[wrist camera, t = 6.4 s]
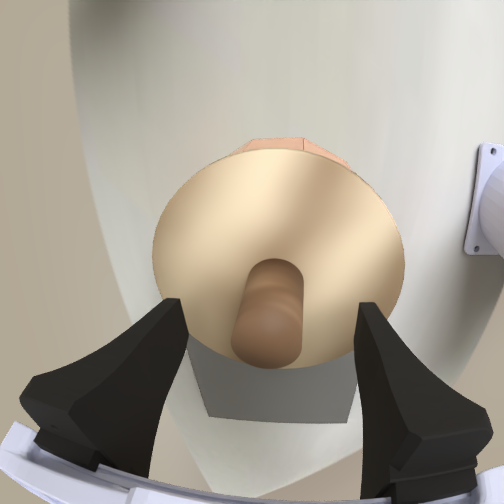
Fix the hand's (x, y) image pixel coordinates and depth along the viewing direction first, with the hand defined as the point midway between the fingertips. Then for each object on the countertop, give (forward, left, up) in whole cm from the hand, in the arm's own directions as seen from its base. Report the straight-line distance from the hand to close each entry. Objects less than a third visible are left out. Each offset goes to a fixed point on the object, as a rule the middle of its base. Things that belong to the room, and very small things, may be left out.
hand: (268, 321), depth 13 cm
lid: (0, +1, -4) cm, 4 cm away
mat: (+1, +15, -9) cm, 18 cm away
